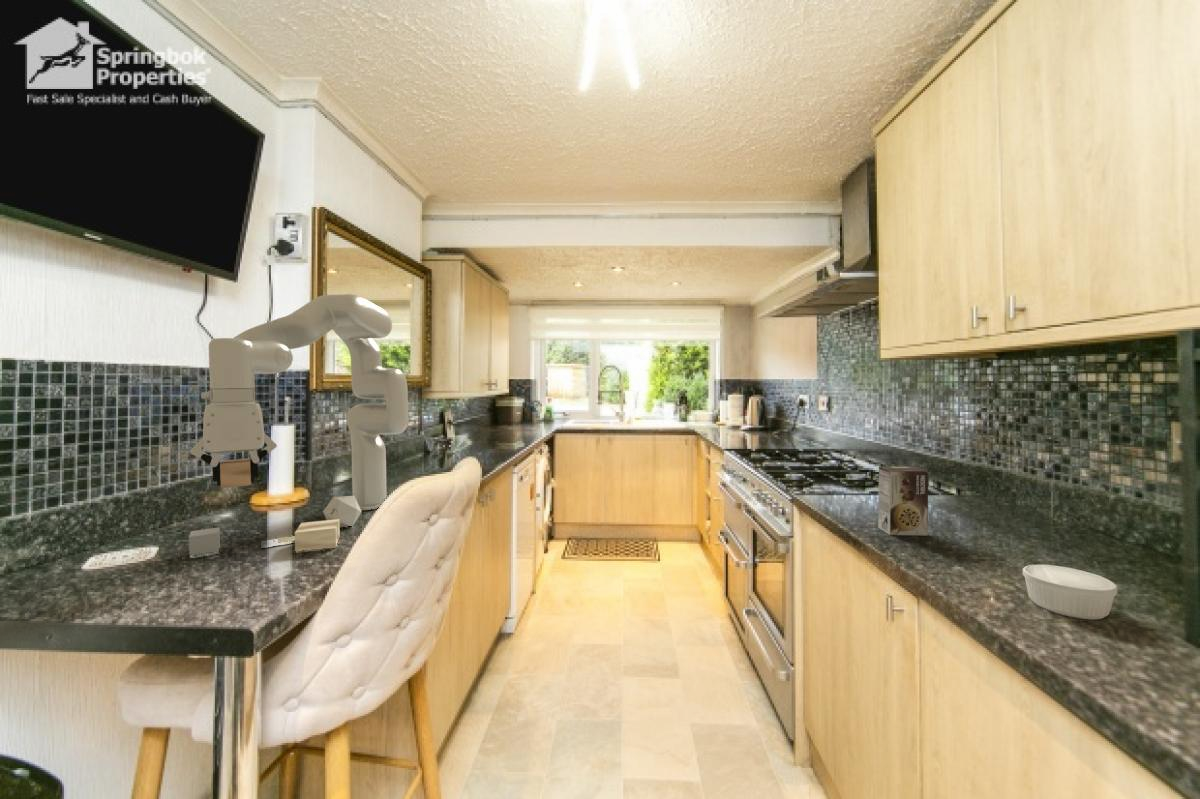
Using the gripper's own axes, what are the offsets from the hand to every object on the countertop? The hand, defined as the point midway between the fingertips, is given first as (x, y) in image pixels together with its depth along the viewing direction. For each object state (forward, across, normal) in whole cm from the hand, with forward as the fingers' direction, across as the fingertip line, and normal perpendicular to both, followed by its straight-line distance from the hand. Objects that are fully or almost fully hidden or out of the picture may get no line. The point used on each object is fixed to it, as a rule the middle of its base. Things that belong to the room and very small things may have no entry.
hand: (236, 482), depth 102 cm
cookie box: (+18, +135, -75) cm, 155 cm away
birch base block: (+17, +15, +1) cm, 23 cm away
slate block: (+17, -6, +10) cm, 21 cm away
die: (+17, +22, +15) cm, 32 cm away
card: (+17, +8, +9) cm, 21 cm away
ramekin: (+17, +113, -109) cm, 158 cm away
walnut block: (+1, 0, 0) cm, 1 cm away
